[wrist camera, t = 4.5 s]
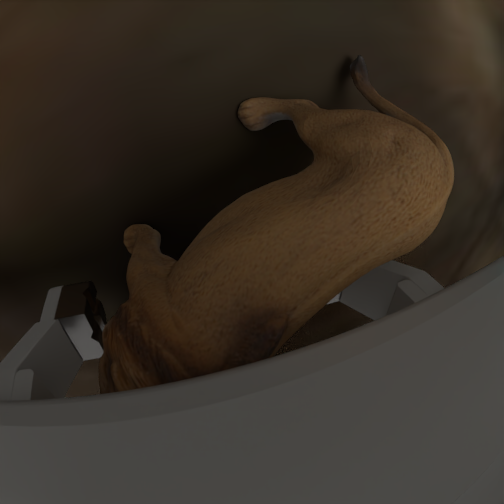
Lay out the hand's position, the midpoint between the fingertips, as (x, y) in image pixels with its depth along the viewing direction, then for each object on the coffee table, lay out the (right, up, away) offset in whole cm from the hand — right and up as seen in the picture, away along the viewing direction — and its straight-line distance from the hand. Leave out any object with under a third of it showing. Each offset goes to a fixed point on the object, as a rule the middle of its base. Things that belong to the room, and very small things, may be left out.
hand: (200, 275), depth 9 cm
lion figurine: (+1, +3, +2) cm, 3 cm away
